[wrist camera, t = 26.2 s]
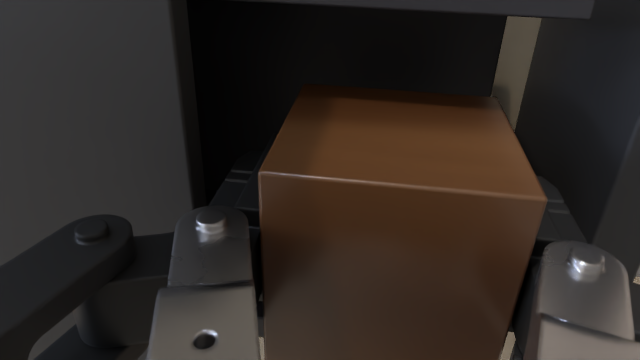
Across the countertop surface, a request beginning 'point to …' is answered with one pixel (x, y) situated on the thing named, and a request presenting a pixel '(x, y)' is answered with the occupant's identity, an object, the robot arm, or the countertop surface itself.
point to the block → (394, 226)
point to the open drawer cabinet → (438, 84)
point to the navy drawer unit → (95, 120)
